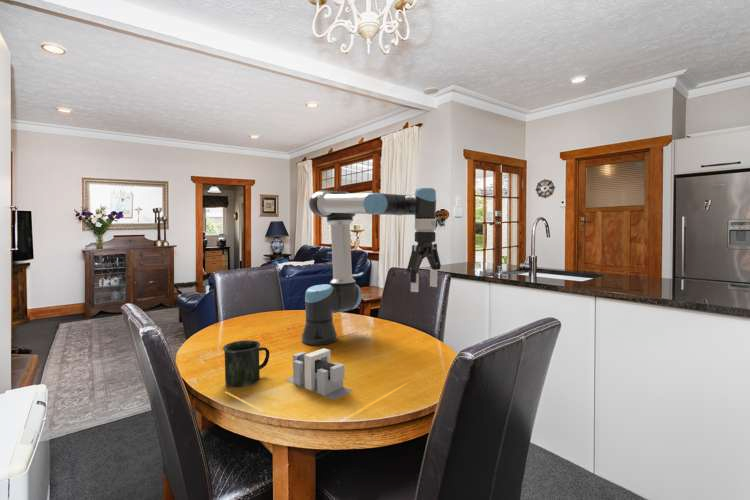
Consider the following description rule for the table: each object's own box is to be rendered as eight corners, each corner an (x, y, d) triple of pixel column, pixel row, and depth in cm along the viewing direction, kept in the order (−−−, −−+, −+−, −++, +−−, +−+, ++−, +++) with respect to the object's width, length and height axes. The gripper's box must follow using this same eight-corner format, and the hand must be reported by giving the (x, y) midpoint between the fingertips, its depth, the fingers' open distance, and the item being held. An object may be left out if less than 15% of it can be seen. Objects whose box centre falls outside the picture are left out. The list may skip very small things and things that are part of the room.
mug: (219, 381, 124) (218, 344, 123) (262, 370, 133) (261, 336, 132) (231, 393, 116) (230, 353, 115) (276, 380, 125) (275, 343, 124)
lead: (292, 367, 124) (292, 354, 124) (302, 363, 127) (302, 351, 127) (334, 382, 112) (334, 368, 112) (344, 378, 115) (344, 364, 115)
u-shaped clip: (304, 388, 118) (304, 354, 117) (324, 379, 124) (323, 348, 123) (311, 390, 116) (311, 357, 115) (330, 382, 122) (330, 350, 121)
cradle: (285, 381, 124) (284, 358, 123) (304, 374, 130) (304, 352, 129) (333, 402, 110) (333, 375, 109) (352, 392, 116) (352, 367, 115)
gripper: (415, 232, 128) (415, 295, 130) (450, 230, 148) (449, 285, 150) (397, 231, 133) (396, 292, 135) (432, 230, 153) (432, 283, 154)
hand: (424, 289), depth 142 cm, fingers open, 13 cm apart
